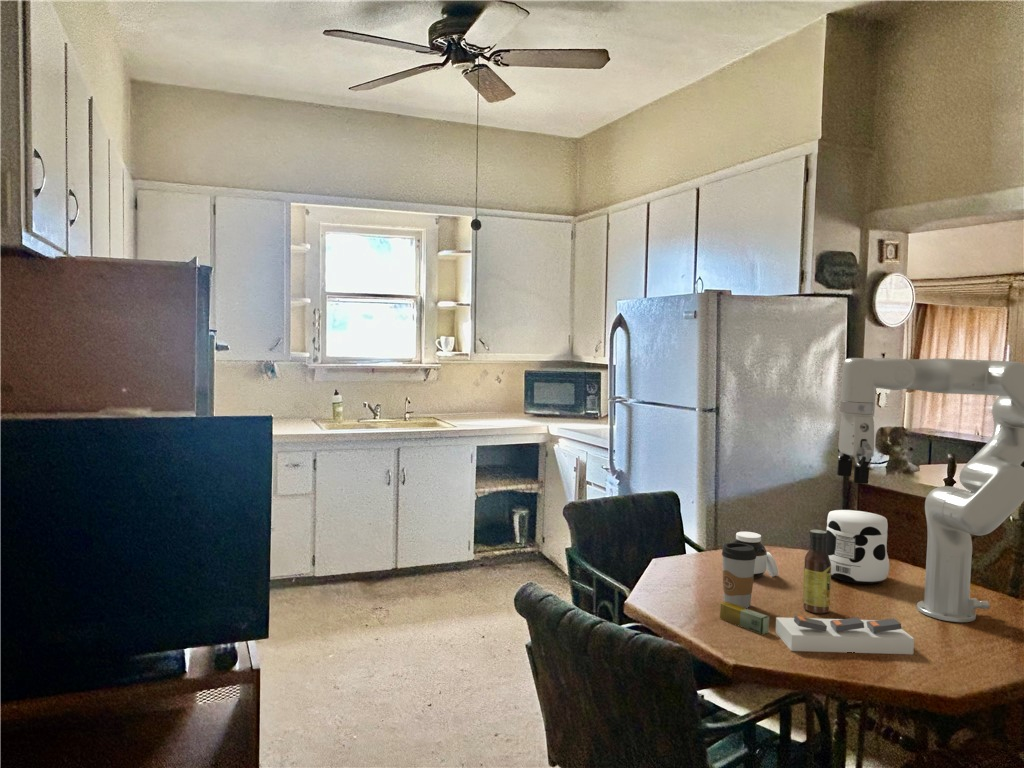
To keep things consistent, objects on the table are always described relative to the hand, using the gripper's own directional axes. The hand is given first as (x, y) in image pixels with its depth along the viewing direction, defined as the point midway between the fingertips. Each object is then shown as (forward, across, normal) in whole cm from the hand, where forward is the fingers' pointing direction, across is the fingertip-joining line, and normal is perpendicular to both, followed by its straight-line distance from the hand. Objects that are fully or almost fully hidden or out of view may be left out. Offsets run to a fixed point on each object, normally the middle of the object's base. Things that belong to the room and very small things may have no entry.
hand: (852, 479), depth 175 cm
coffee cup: (+34, +4, +24) cm, 42 cm away
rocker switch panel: (+34, -17, +7) cm, 39 cm away
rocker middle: (+29, -19, +7) cm, 35 cm away
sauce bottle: (+34, +3, +5) cm, 35 cm away
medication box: (+35, -9, +26) cm, 44 cm away
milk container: (+34, +30, -15) cm, 47 cm away
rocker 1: (+29, -19, +15) cm, 38 cm away
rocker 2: (+29, -19, -1) cm, 34 cm away
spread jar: (+34, +30, +13) cm, 47 cm away
